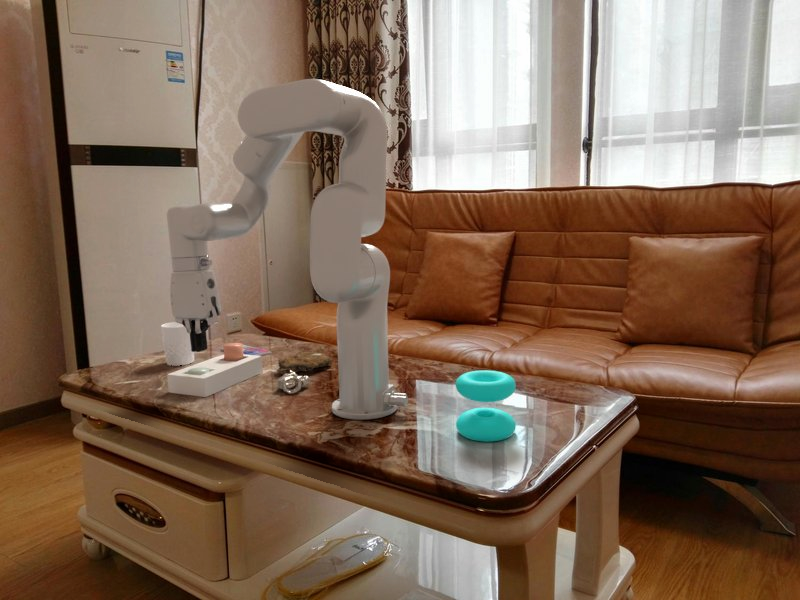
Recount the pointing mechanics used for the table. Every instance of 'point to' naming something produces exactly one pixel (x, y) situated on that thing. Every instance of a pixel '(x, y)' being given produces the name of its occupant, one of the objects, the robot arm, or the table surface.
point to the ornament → (292, 382)
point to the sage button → (198, 371)
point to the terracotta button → (233, 352)
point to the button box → (214, 375)
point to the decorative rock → (303, 362)
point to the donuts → (485, 420)
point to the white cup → (176, 344)
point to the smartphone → (254, 351)
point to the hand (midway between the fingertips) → (199, 350)
